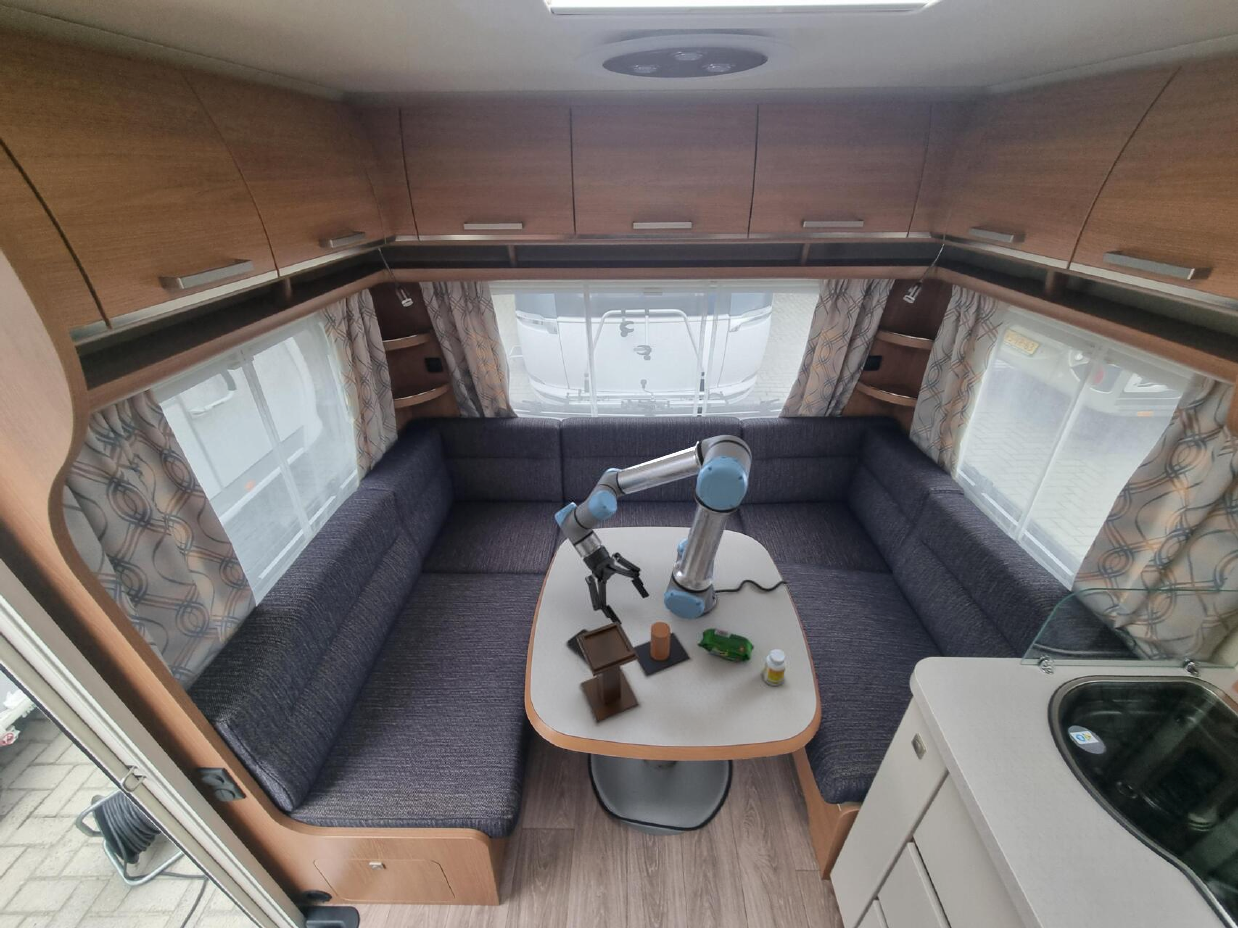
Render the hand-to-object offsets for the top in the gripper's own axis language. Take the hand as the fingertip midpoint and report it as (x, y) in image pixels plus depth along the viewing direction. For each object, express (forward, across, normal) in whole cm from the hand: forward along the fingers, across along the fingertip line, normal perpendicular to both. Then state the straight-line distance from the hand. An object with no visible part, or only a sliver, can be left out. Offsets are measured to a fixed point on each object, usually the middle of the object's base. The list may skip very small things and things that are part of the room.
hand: (633, 610), depth 144 cm
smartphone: (+4, +12, -13) cm, 18 cm away
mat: (+15, 0, -1) cm, 15 cm away
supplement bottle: (+36, -12, +20) cm, 43 cm away
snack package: (+26, -12, +9) cm, 30 cm away
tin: (+15, 0, -1) cm, 15 cm away
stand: (+13, +20, -4) cm, 24 cm away
